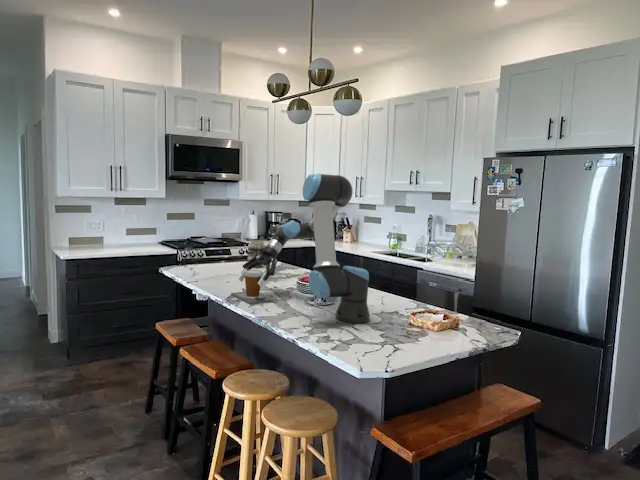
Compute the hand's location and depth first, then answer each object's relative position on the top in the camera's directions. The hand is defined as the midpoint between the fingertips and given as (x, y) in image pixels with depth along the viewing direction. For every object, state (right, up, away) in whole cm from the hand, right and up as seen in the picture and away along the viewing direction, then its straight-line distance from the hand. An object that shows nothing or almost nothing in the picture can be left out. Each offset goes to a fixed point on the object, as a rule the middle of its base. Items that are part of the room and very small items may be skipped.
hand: (249, 282), depth 237 cm
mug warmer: (+1, -8, +3) cm, 9 cm away
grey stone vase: (-9, +2, +90) cm, 91 cm away
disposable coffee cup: (+1, -7, +3) cm, 7 cm away
